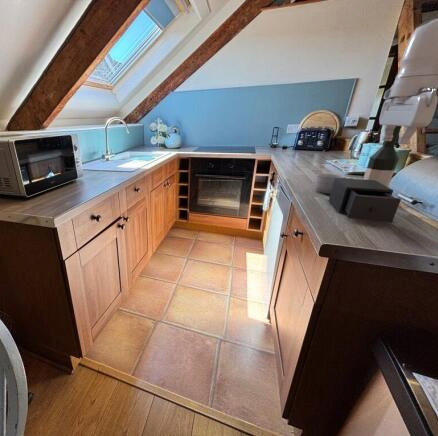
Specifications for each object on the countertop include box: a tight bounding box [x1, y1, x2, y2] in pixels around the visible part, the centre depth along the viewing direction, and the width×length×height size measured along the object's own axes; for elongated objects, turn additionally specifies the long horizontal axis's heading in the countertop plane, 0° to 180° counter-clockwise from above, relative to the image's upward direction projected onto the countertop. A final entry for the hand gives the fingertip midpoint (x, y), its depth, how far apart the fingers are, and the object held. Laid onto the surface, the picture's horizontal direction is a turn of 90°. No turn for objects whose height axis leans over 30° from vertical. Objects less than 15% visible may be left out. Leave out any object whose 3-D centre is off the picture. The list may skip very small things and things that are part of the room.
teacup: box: [314, 173, 355, 195], centre depth 108 cm, size 14×11×8 cm
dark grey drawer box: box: [328, 177, 394, 215], centre depth 89 cm, size 15×13×10 cm
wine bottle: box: [362, 126, 403, 188], centre depth 96 cm, size 8×8×30 cm
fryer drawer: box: [343, 189, 402, 223], centre depth 82 cm, size 15×11×8 cm
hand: (394, 142), depth 72 cm, fingers open, 8 cm apart
